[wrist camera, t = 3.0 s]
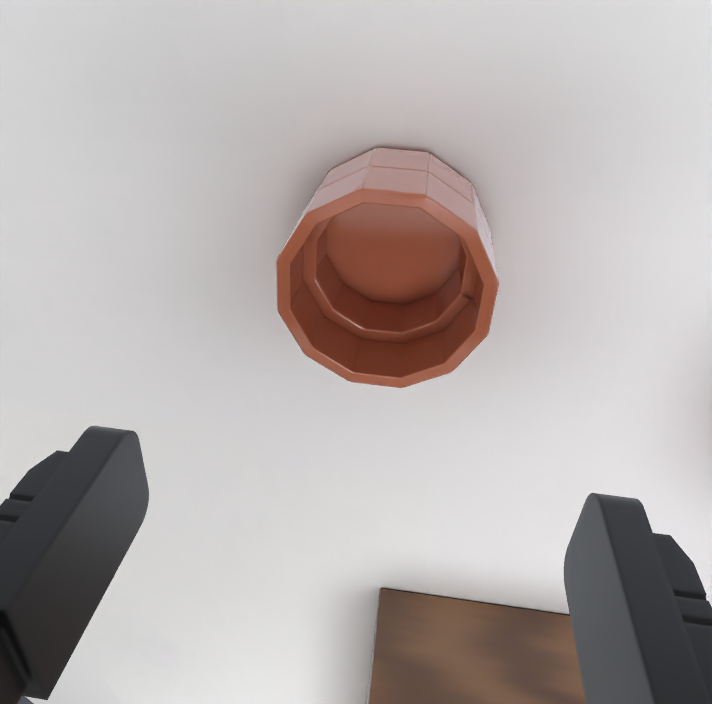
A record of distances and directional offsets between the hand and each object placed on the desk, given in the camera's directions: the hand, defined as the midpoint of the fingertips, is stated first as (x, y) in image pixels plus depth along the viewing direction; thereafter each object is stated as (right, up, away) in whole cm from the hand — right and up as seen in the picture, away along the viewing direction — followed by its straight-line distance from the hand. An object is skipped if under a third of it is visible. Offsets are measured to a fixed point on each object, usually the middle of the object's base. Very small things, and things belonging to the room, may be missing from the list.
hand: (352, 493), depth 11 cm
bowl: (+1, +7, +10) cm, 12 cm away
